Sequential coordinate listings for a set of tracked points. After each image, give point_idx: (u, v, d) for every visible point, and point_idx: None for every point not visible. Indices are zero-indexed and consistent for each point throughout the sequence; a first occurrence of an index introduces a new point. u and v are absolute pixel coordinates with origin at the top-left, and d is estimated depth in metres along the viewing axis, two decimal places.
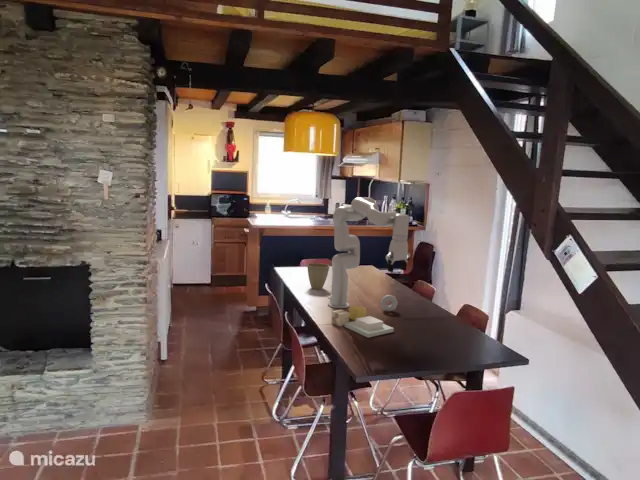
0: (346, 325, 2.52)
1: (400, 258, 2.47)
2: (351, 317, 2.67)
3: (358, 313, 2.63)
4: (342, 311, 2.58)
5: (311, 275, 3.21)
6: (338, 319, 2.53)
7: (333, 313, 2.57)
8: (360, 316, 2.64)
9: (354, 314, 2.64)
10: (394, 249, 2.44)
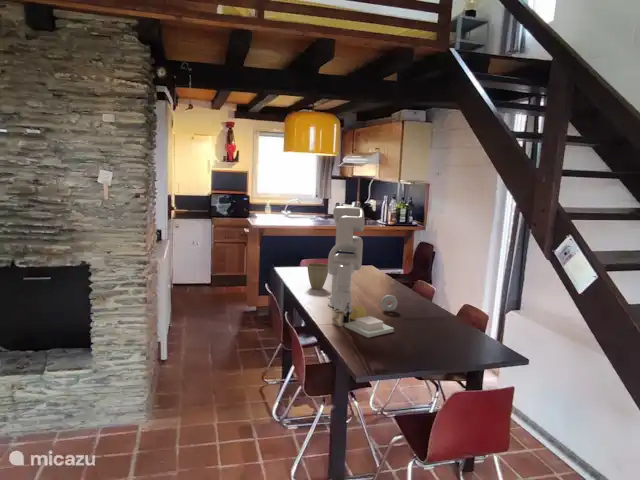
0: (346, 325, 2.52)
1: None
2: (351, 317, 2.67)
3: (358, 313, 2.63)
4: (343, 311, 2.57)
5: (311, 275, 3.21)
6: (339, 319, 2.53)
7: (334, 313, 2.56)
8: (360, 316, 2.64)
9: (354, 314, 2.64)
10: (350, 299, 2.52)
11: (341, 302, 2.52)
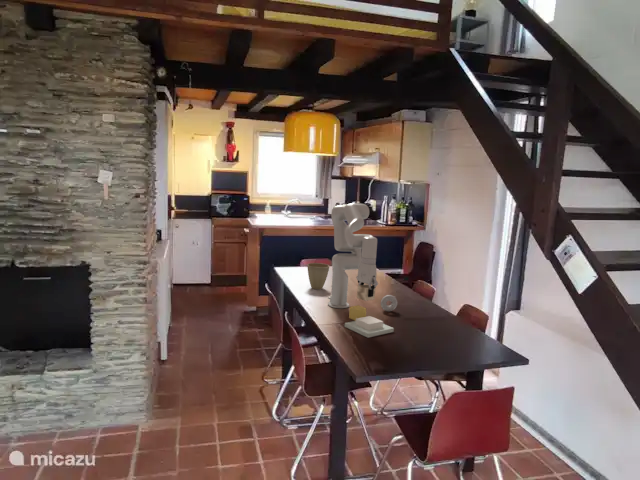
0: (346, 325, 2.52)
1: None
2: (351, 317, 2.67)
3: (358, 313, 2.63)
4: (368, 285, 2.50)
5: (311, 275, 3.21)
6: (364, 293, 2.46)
7: (359, 287, 2.49)
8: (360, 316, 2.64)
9: (354, 314, 2.64)
10: (375, 272, 2.45)
11: (366, 275, 2.44)
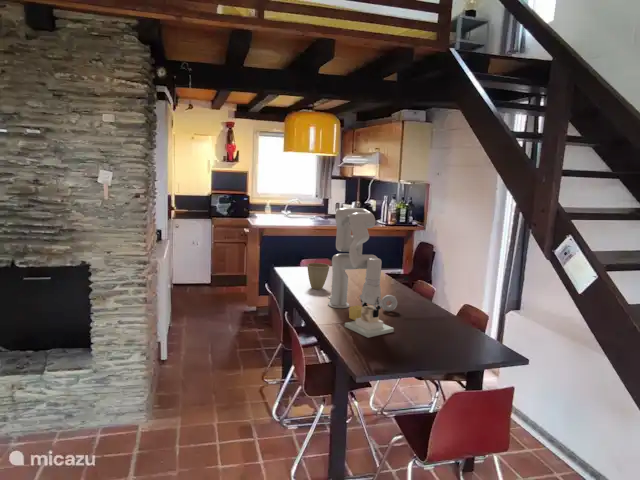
0: (346, 325, 2.52)
1: None
2: (351, 317, 2.67)
3: (358, 313, 2.63)
4: (372, 307, 2.51)
5: (311, 275, 3.21)
6: (368, 315, 2.47)
7: (363, 309, 2.50)
8: (360, 316, 2.64)
9: (354, 314, 2.64)
10: (380, 293, 2.46)
11: (370, 296, 2.45)
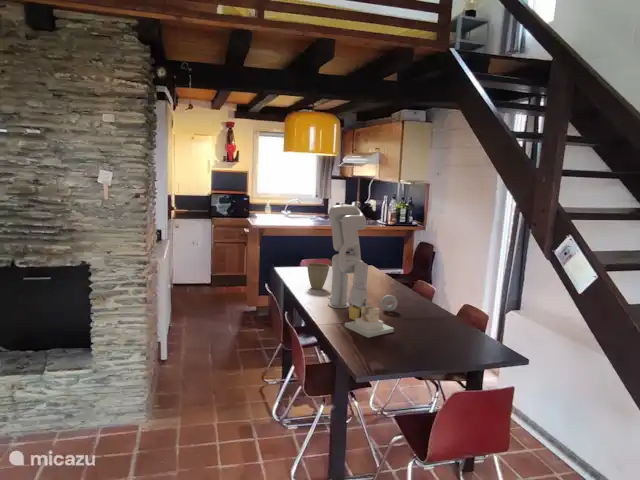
0: (346, 325, 2.52)
1: None
2: (351, 317, 2.67)
3: (358, 313, 2.63)
4: (372, 307, 2.51)
5: (311, 275, 3.21)
6: (368, 315, 2.47)
7: (363, 309, 2.50)
8: None
9: (354, 314, 2.64)
10: (366, 296, 2.63)
11: (358, 299, 2.62)
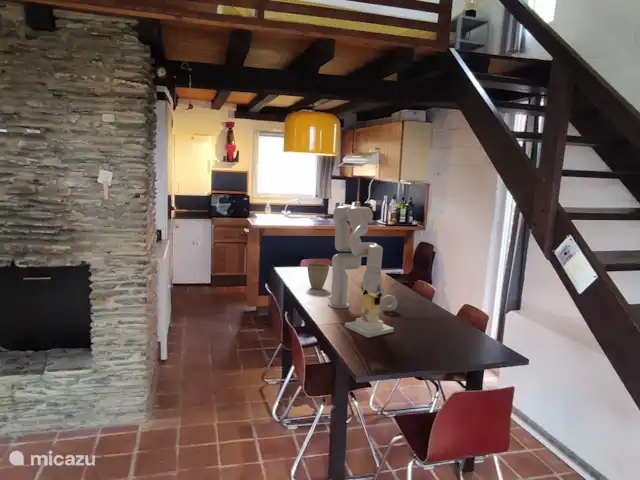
0: (346, 325, 2.52)
1: None
2: (364, 306, 2.49)
3: (372, 302, 2.45)
4: None
5: (311, 275, 3.21)
6: (368, 315, 2.47)
7: (363, 309, 2.50)
8: (374, 305, 2.46)
9: (368, 303, 2.46)
10: (381, 281, 2.45)
11: (371, 284, 2.44)
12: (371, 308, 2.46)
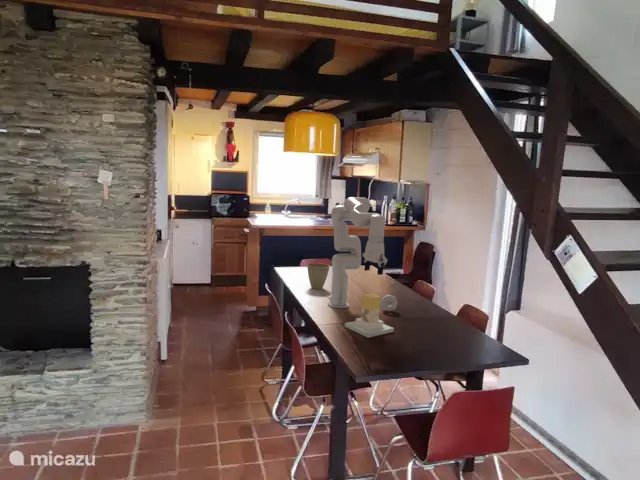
0: (346, 325, 2.52)
1: None
2: (364, 306, 2.49)
3: (372, 302, 2.45)
4: None
5: (311, 275, 3.21)
6: (368, 315, 2.47)
7: (363, 309, 2.50)
8: (374, 305, 2.46)
9: (368, 303, 2.46)
10: (383, 251, 2.42)
11: (374, 254, 2.42)
12: (371, 308, 2.46)
